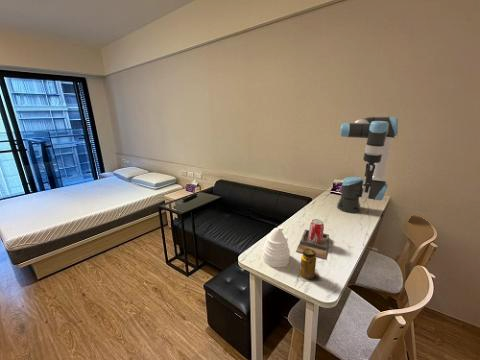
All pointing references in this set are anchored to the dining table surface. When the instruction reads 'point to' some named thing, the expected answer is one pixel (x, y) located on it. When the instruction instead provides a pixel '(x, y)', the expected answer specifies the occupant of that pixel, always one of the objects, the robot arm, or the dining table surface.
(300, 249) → the board
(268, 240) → the honey pot
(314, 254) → the condiment
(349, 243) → the dining table surface
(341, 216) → the dining table surface
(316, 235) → the soda can
